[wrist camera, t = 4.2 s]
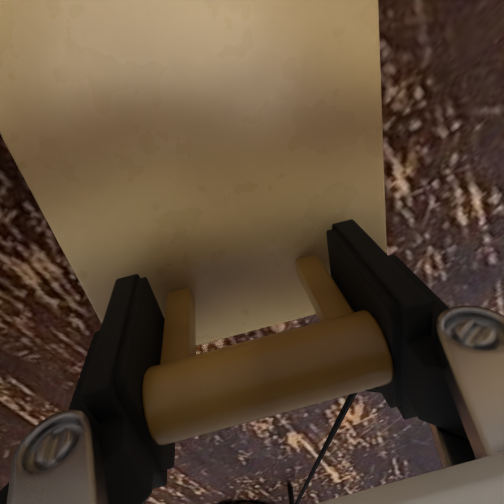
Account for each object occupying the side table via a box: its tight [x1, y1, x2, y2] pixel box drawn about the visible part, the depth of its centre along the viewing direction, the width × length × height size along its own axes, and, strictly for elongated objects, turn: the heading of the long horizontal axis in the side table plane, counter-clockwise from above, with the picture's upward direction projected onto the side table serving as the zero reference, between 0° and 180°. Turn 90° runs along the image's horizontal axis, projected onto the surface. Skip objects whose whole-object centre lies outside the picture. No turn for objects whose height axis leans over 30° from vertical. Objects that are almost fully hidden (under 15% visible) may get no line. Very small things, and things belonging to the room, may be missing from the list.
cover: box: [0, 0, 394, 445], centre depth 8 cm, size 13×9×6 cm
